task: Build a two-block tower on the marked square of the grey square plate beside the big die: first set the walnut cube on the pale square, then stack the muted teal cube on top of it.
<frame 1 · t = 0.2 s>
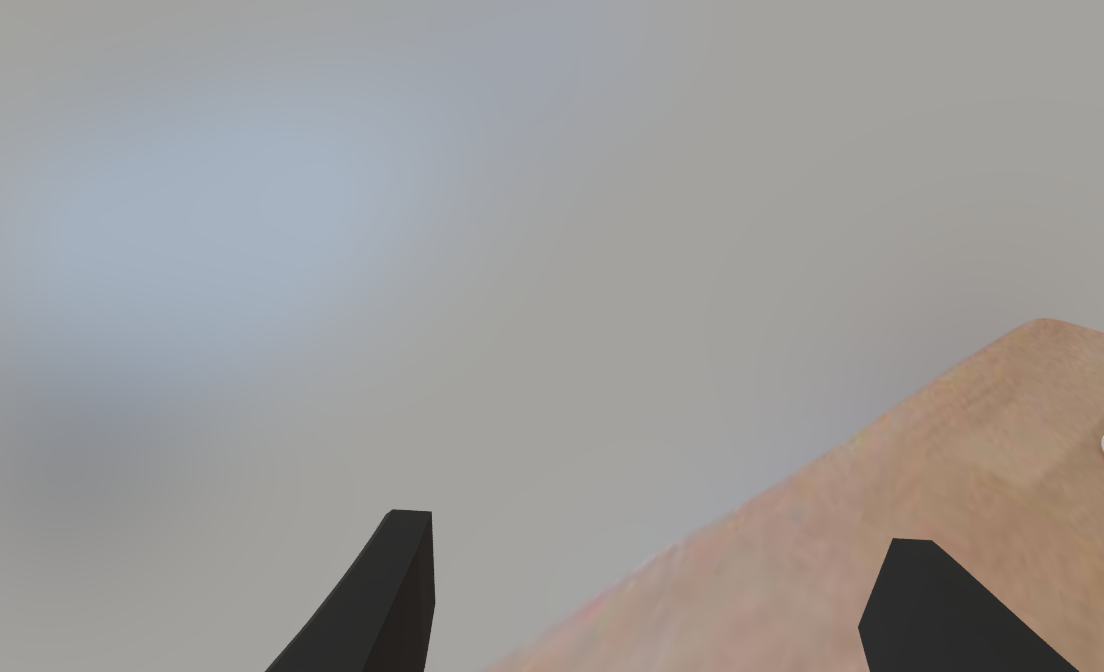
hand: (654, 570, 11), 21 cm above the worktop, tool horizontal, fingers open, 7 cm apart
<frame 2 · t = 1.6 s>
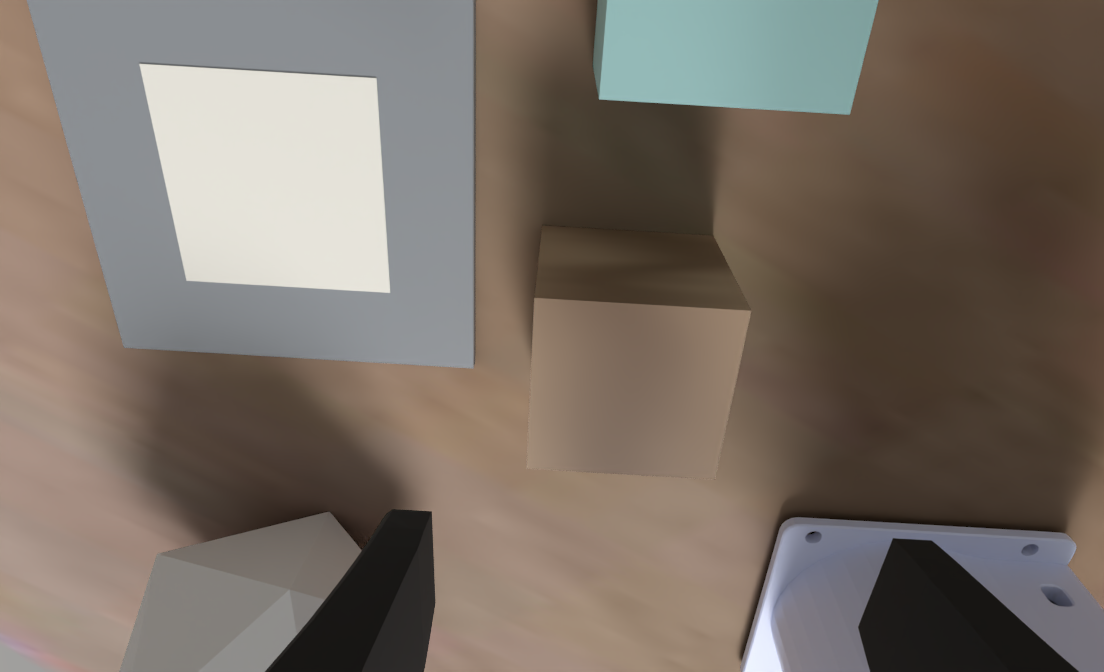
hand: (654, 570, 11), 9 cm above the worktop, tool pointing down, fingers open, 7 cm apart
grey square plate: (280, 182, 18), on the worktop
walnut block: (618, 305, 19), on the worktop
die: (313, 564, 25), on the worktop
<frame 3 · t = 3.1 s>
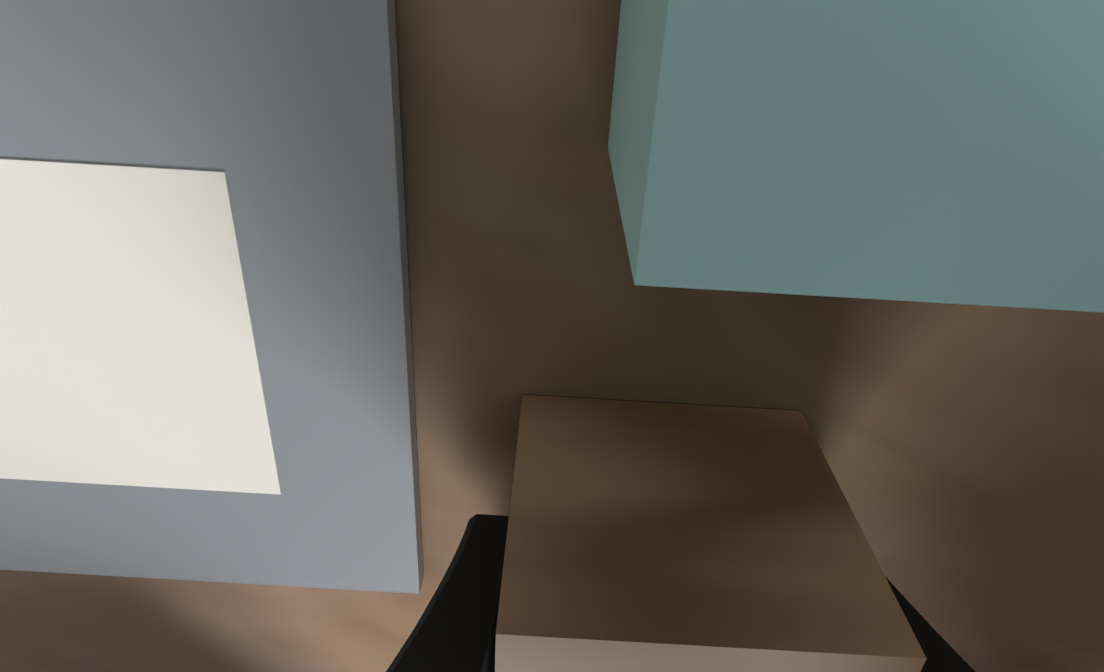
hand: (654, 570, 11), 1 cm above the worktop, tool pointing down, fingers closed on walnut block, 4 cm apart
grey square plate: (90, 329, 11), on the worktop
walnut block: (645, 508, 12), on the worktop, touching gripper
when the fingers open (3 cm above the worktop, at t = 6.1 s): walnut block stays where it is, resting on grey square plate.
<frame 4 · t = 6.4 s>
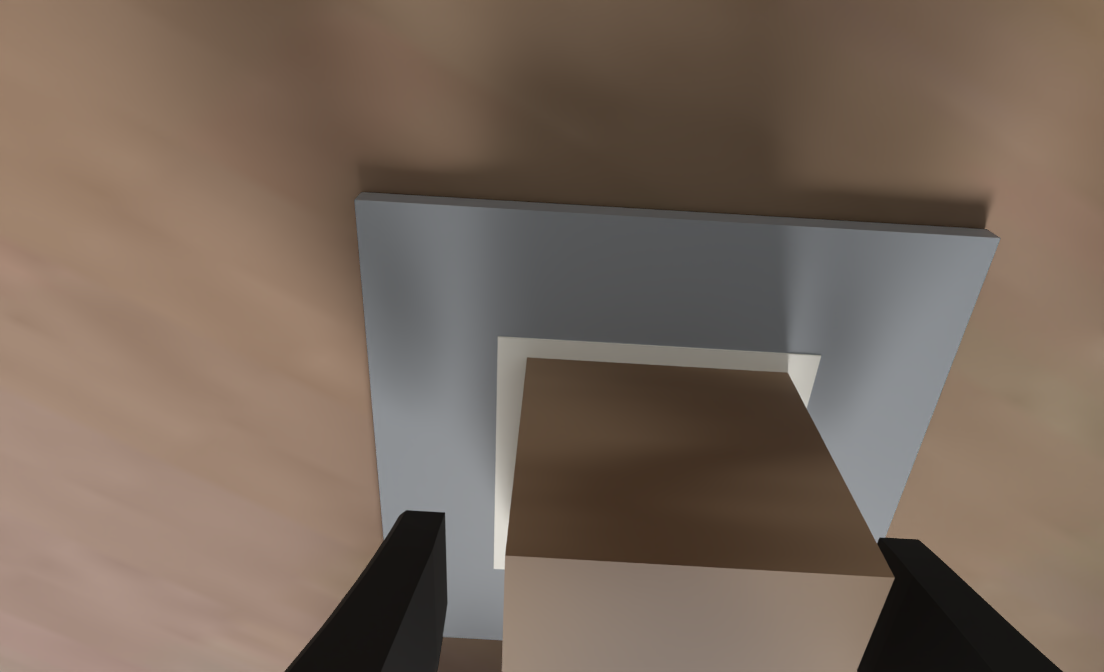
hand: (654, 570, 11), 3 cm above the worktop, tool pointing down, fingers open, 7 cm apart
grey square plate: (639, 458, 13), on the worktop
walnut block: (642, 467, 13), resting on grey square plate
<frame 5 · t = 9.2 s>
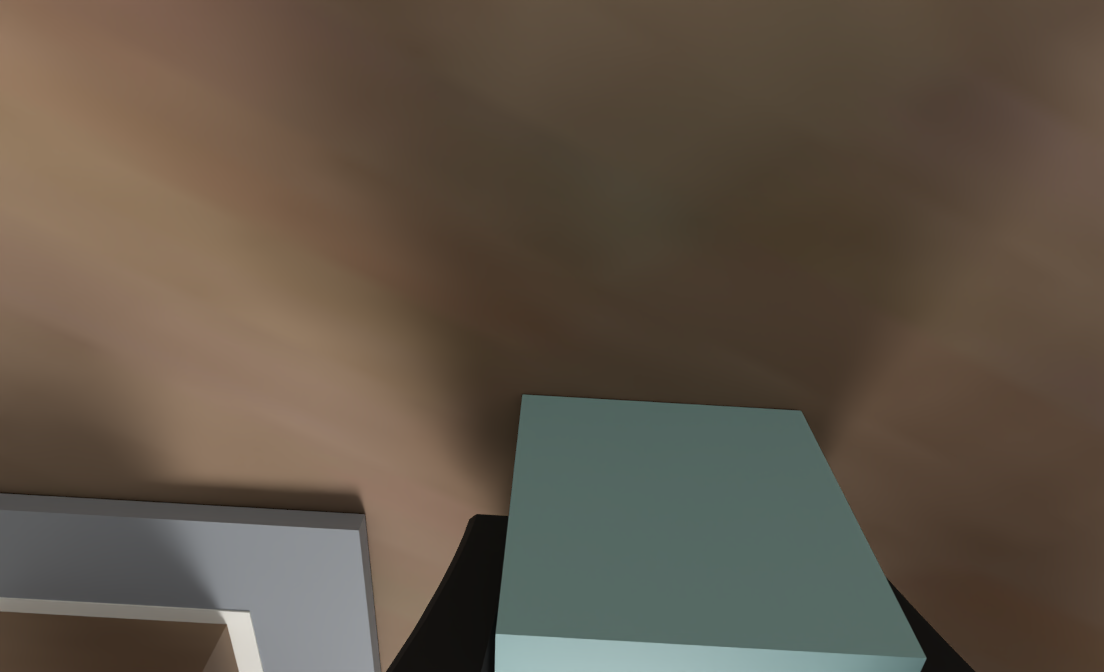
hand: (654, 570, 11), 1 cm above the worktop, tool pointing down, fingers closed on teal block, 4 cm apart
teal block: (645, 508, 12), on the worktop, touching gripper
when the fingers open (7 cm above the worktop, at t = 12.2 s): teal block stays where it is, resting on walnut block.
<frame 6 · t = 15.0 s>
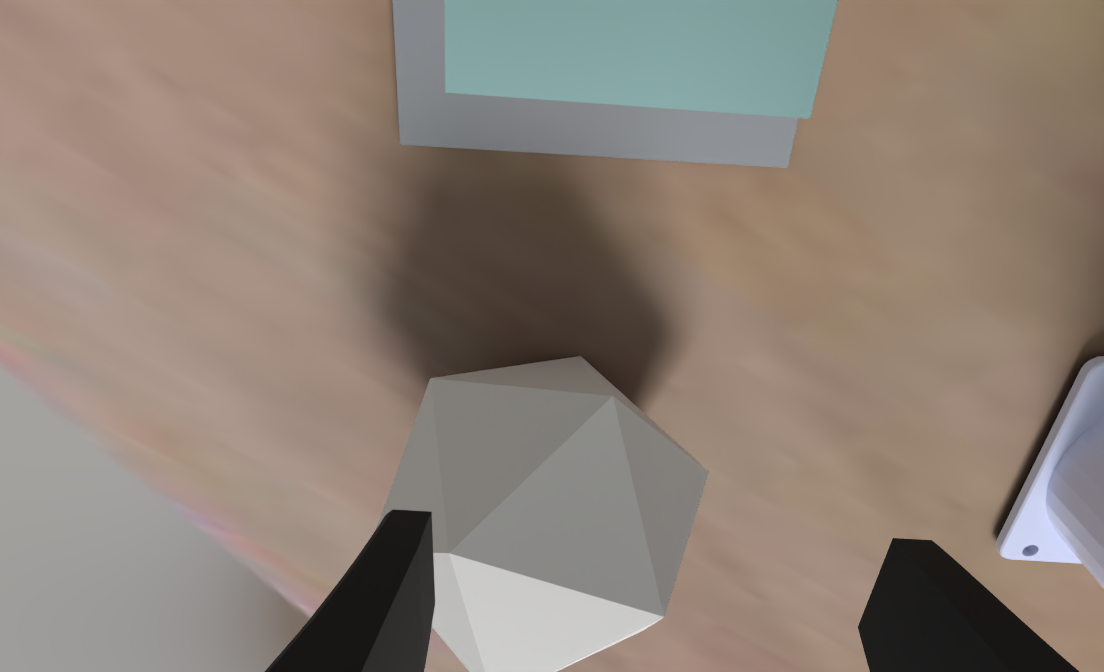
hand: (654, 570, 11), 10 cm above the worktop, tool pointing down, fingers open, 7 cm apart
die: (546, 424, 23), on the worktop
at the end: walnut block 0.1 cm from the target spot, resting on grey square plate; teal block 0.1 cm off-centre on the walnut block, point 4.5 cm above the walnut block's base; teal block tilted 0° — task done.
